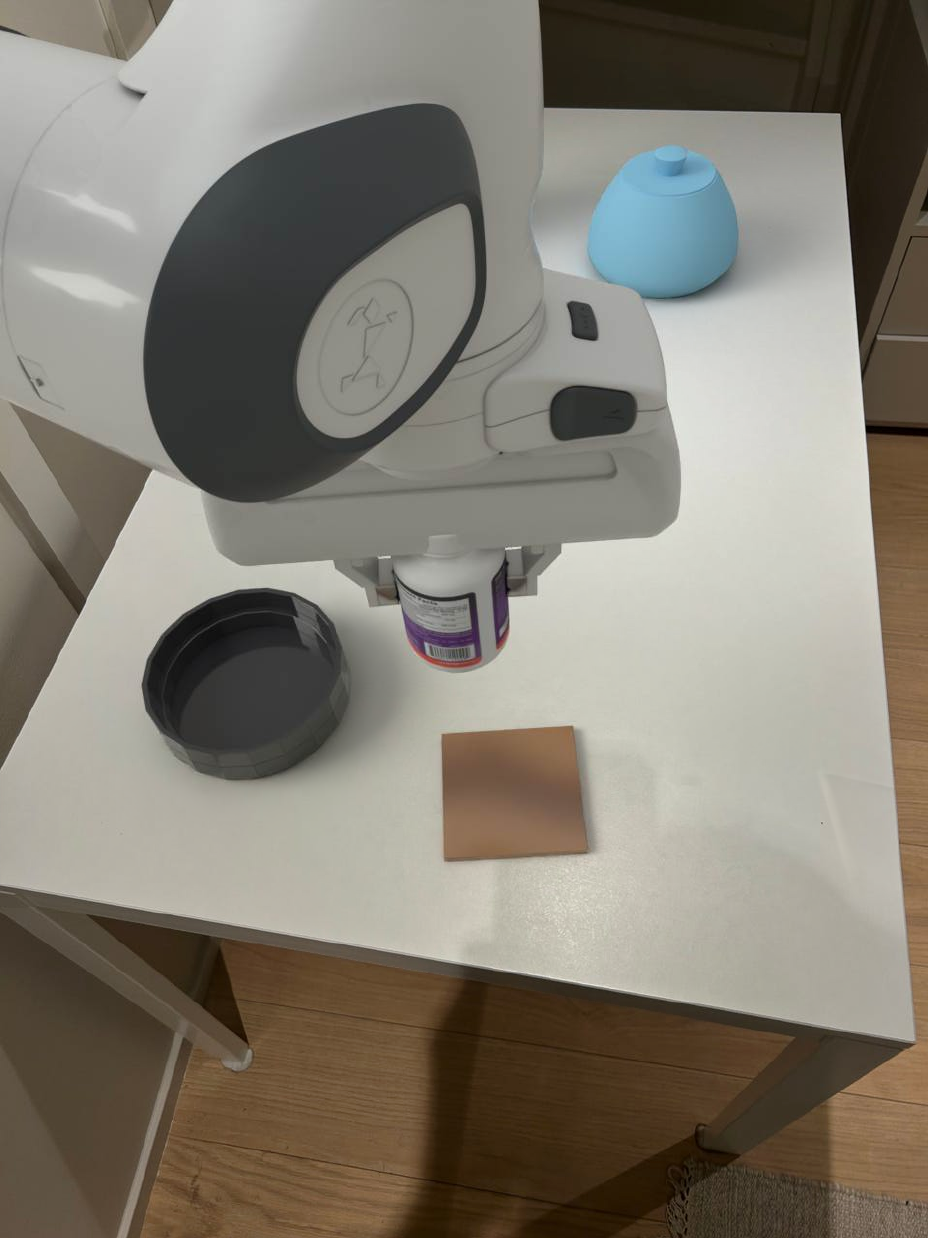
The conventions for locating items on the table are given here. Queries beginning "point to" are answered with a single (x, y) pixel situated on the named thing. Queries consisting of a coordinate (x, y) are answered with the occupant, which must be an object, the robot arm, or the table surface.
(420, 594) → the pill bottle
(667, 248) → the sugar bowl
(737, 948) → the table surface
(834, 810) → the table surface
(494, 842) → the copper plate
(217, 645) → the pan
